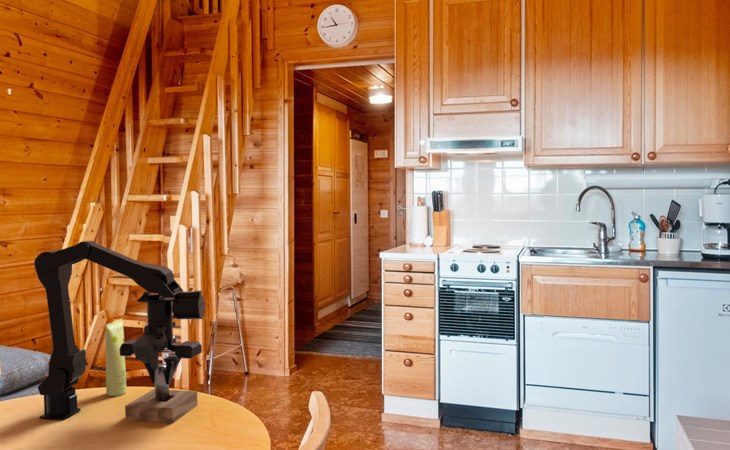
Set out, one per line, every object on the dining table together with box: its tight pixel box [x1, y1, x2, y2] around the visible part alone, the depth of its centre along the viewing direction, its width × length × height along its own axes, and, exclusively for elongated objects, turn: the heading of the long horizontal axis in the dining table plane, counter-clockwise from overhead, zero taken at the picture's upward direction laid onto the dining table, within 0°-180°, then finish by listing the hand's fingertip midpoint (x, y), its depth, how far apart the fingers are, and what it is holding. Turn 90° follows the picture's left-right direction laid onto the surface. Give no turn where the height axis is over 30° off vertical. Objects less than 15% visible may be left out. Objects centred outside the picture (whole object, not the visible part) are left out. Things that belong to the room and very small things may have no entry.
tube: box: [105, 318, 127, 397], centre depth 153 cm, size 6×5×20 cm
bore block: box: [124, 388, 198, 424], centre depth 139 cm, size 12×12×4 cm
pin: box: [154, 363, 170, 401], centre depth 138 cm, size 3×3×8 cm
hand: (161, 383), depth 138 cm, fingers closed on pin, 3 cm apart
